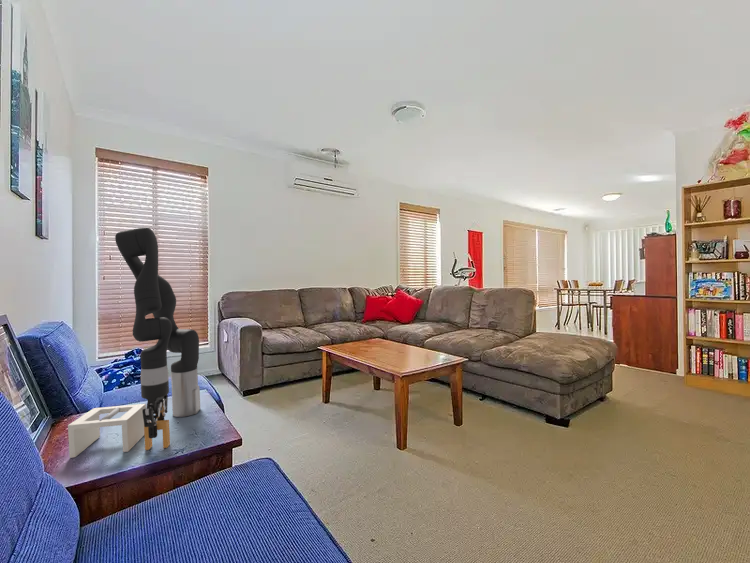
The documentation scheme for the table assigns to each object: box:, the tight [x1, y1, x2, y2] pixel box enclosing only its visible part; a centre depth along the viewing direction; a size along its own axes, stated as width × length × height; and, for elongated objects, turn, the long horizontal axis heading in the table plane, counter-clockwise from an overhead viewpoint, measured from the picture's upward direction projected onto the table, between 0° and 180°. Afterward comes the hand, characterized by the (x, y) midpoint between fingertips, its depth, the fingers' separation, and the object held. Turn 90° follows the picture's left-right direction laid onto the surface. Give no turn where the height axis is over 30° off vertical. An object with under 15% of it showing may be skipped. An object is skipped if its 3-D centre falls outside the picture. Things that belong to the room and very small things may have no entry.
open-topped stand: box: [67, 403, 147, 459], centre depth 118 cm, size 16×14×10 cm
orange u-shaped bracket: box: [143, 419, 171, 451], centre depth 116 cm, size 6×2×8 cm, turn 101°
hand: (157, 433), depth 116 cm, fingers open, 5 cm apart
